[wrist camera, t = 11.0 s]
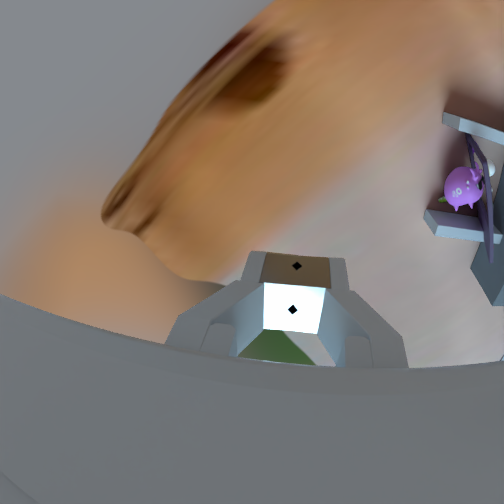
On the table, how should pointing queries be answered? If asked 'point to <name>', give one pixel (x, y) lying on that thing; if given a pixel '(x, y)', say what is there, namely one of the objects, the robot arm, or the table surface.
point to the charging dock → (477, 220)
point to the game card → (473, 191)
